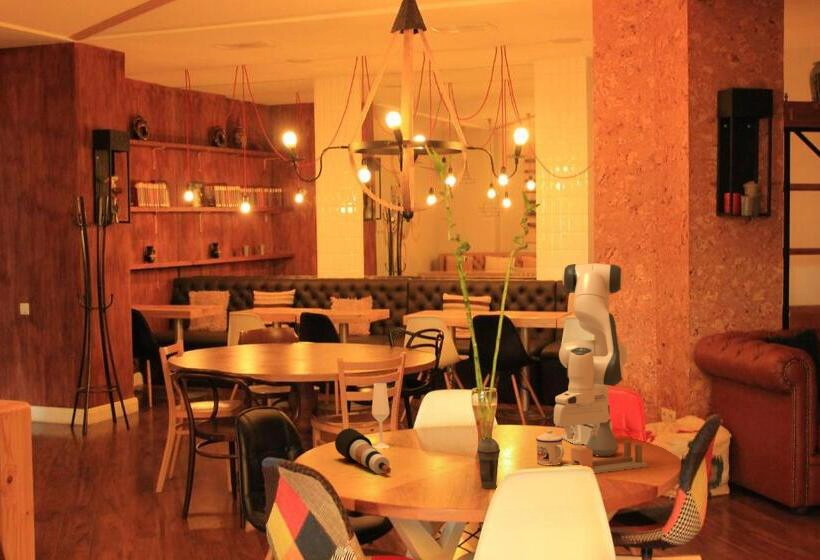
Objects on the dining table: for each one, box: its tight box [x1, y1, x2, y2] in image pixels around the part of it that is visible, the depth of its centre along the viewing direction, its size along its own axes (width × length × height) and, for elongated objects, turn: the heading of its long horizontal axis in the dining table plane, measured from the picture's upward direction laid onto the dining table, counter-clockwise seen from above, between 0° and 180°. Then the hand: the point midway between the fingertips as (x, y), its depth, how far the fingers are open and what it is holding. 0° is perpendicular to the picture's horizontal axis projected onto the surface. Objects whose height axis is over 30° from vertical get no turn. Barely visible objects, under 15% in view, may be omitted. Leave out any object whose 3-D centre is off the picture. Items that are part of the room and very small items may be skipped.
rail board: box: [562, 440, 648, 474], centre depth 356 cm, size 12×26×7 cm, turn 115°
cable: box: [334, 427, 392, 475], centre depth 362 cm, size 10×34×10 cm, turn 26°
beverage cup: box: [476, 424, 501, 490], centre depth 331 cm, size 7×7×20 cm
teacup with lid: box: [535, 429, 565, 466], centre depth 363 cm, size 12×9×12 cm
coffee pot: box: [584, 418, 619, 457], centre depth 374 cm, size 21×12×15 cm, turn 117°
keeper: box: [570, 445, 594, 468], centre depth 352 cm, size 7×4×6 cm, turn 25°
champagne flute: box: [371, 382, 391, 450], centre depth 395 cm, size 7×7×24 cm
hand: (581, 437), depth 352 cm, fingers open, 8 cm apart
